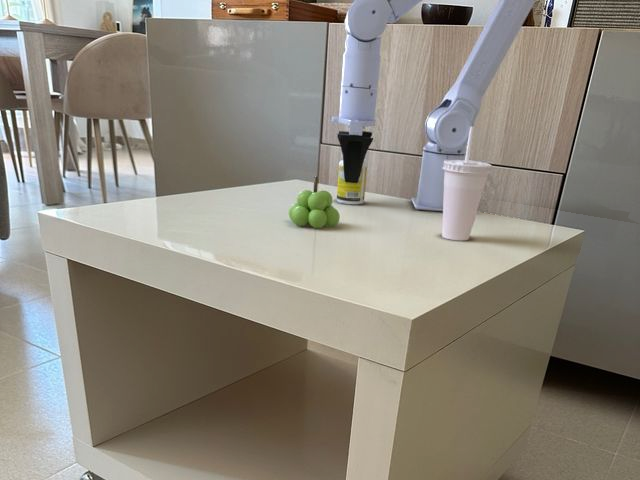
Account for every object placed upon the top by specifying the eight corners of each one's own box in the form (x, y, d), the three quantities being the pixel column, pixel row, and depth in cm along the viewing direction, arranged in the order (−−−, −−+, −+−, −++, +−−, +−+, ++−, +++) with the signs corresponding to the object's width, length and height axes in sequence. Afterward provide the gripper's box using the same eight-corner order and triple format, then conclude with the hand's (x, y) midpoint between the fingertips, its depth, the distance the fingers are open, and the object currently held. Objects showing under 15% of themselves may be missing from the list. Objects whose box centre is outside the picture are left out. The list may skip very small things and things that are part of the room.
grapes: (285, 218, 91) (287, 171, 88) (330, 219, 93) (334, 173, 90) (294, 229, 85) (296, 179, 82) (342, 230, 86) (346, 181, 83)
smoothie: (426, 237, 86) (442, 124, 79) (440, 230, 91) (457, 123, 84) (471, 245, 84) (492, 129, 77) (483, 237, 89) (504, 128, 82)
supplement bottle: (348, 199, 110) (352, 147, 106) (369, 203, 107) (374, 150, 103) (330, 201, 107) (334, 147, 103) (352, 205, 104) (356, 151, 100)
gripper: (335, 85, 105) (329, 172, 112) (332, 86, 92) (326, 183, 99) (377, 89, 105) (368, 175, 112) (380, 89, 92) (370, 187, 99)
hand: (351, 179), depth 105 cm, fingers open, 7 cm apart
